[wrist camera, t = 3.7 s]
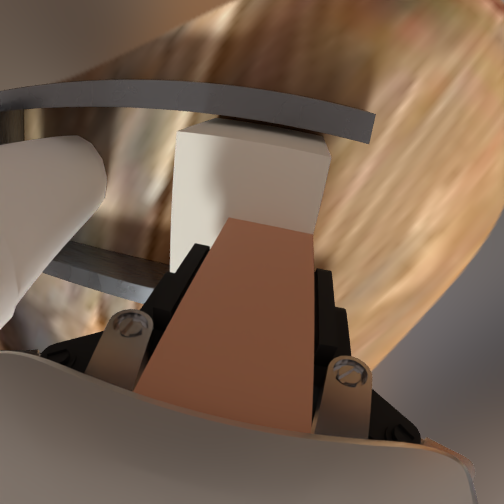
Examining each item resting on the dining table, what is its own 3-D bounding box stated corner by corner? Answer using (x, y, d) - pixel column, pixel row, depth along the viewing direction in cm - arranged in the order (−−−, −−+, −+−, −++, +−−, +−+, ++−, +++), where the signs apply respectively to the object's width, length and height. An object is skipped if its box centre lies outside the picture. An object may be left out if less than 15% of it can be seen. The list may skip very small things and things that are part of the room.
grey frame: (309, 312, 23) (306, 404, 16) (9, 238, 24) (-47, 281, 17) (364, 110, 16) (408, 125, 9) (-3, 91, 17) (-77, 111, 11)
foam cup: (23, 197, 22) (-91, 276, 11) (48, 95, 17) (-107, 141, 6) (105, 256, 23) (-3, 374, 12) (146, 150, 19) (-19, 245, 7)
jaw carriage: (294, 287, 21) (256, 577, 6) (201, 267, 22) (73, 521, 7) (330, 138, 17) (464, 523, 1) (216, 117, 17) (-120, 309, 2)
